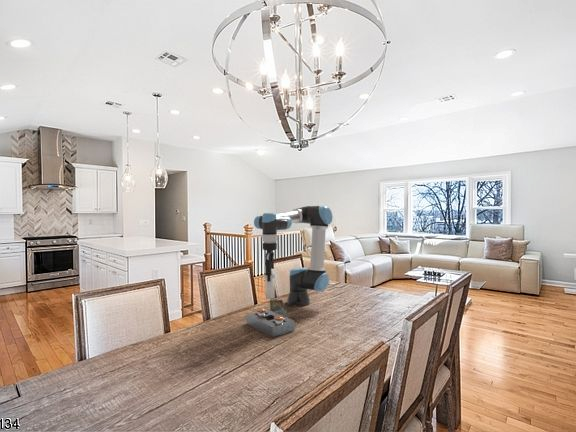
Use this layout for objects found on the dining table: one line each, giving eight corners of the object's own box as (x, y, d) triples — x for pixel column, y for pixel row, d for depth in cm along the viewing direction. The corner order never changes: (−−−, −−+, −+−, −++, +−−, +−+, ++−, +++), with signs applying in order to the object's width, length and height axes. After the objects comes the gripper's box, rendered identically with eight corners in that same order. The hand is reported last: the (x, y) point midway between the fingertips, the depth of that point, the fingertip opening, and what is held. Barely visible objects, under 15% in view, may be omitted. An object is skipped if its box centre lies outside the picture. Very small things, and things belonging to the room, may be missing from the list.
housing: (267, 318, 183) (267, 309, 183) (294, 330, 165) (294, 320, 164) (246, 323, 174) (246, 314, 174) (272, 337, 156) (272, 327, 156)
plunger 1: (262, 319, 179) (262, 307, 179) (268, 321, 175) (268, 309, 175) (254, 321, 176) (254, 309, 176) (260, 323, 172) (260, 311, 172)
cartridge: (266, 296, 172) (265, 266, 172) (275, 296, 172) (275, 266, 171) (264, 299, 167) (264, 268, 167) (274, 299, 167) (273, 268, 166)
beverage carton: (273, 320, 180) (273, 309, 179) (269, 310, 198) (269, 299, 198) (287, 320, 181) (287, 308, 181) (282, 309, 200) (282, 299, 200)
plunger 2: (280, 327, 167) (280, 314, 167) (286, 330, 163) (286, 317, 163) (272, 329, 164) (272, 316, 163) (278, 332, 160) (278, 319, 159)
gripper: (265, 240, 178) (266, 281, 179) (259, 244, 160) (259, 290, 161) (278, 240, 177) (279, 282, 178) (274, 244, 159) (274, 290, 160)
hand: (270, 285), depth 169 cm, fingers closed on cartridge, 5 cm apart
